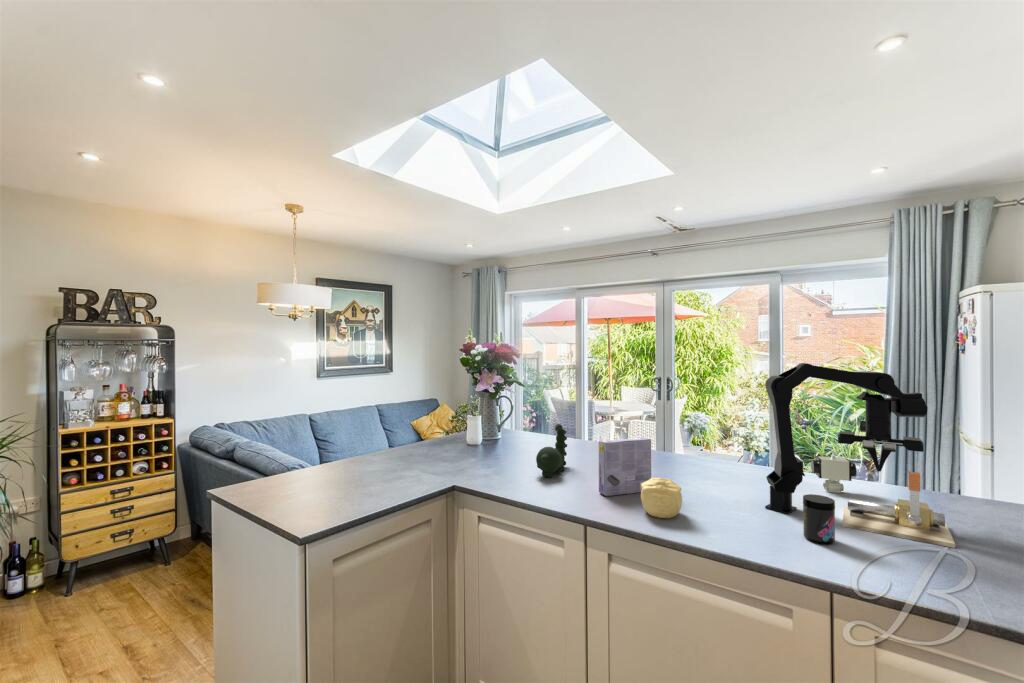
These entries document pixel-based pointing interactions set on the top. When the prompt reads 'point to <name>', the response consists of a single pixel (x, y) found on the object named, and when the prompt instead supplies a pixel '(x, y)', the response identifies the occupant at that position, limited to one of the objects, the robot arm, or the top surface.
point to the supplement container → (819, 519)
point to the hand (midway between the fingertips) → (878, 471)
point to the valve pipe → (898, 513)
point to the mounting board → (897, 529)
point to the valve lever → (914, 498)
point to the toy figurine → (553, 455)
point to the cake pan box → (624, 465)
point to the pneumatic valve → (833, 471)
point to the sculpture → (661, 497)
